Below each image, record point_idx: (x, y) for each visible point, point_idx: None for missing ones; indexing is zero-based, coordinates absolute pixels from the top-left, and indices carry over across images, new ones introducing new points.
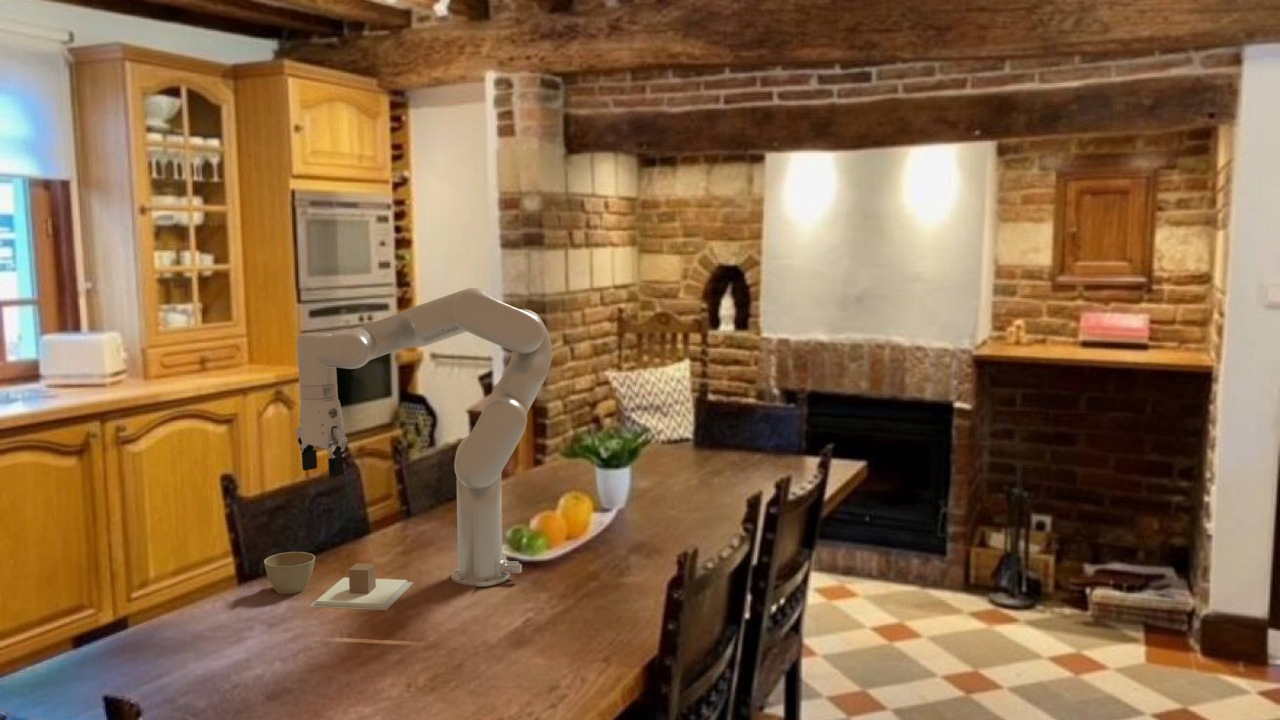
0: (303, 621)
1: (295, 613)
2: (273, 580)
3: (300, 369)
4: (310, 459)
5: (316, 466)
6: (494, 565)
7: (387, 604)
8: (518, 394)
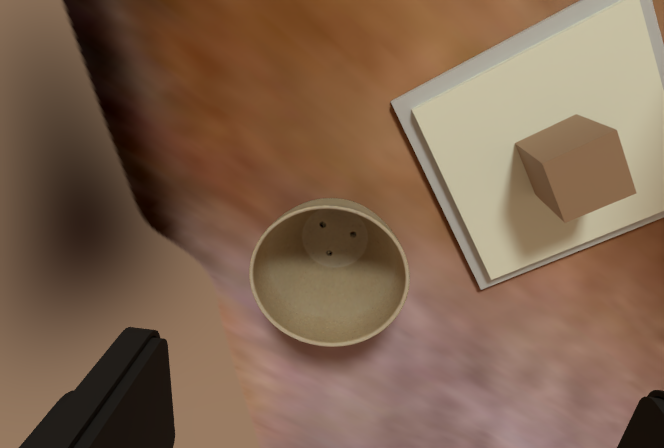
0: (525, 335)
1: (469, 315)
2: (338, 310)
3: None
4: None
5: (160, 351)
6: None
7: None
8: None
